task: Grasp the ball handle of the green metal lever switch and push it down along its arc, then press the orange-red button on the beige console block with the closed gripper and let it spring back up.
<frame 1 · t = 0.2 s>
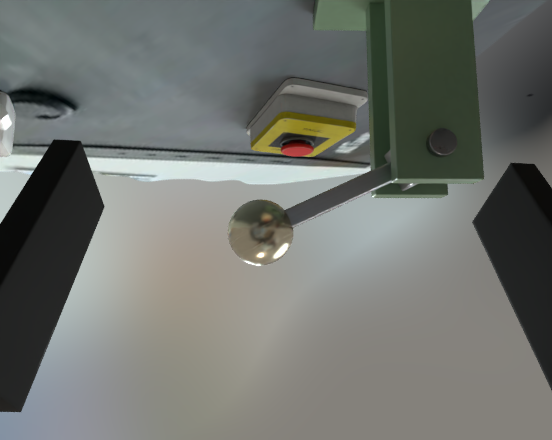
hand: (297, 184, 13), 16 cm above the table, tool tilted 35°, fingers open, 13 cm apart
lever switch: (338, 196, 22), point 14 cm above the table, hinge at 25.0°
emergency button: (300, 111, 46), on the table
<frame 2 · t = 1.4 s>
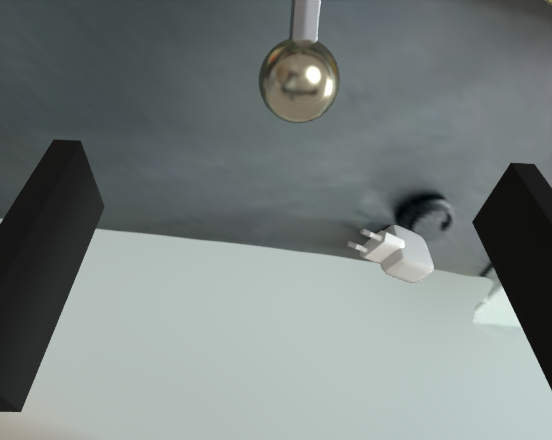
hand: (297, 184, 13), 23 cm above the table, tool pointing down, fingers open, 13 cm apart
power adapter: (382, 228, 50), on the table
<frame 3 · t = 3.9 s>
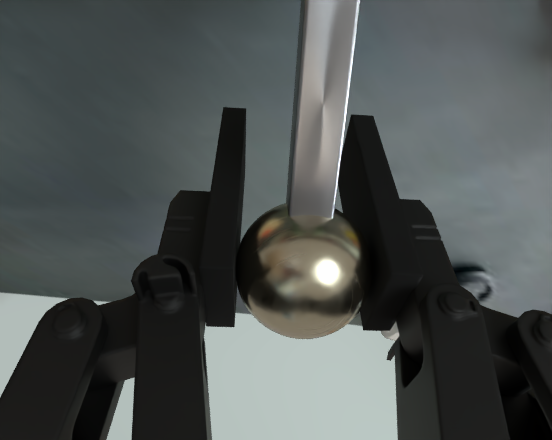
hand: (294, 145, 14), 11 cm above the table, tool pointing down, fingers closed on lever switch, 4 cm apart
lever switch: (322, 76, 9), point 14 cm above the table, hinge at 25.0°, touching gripper
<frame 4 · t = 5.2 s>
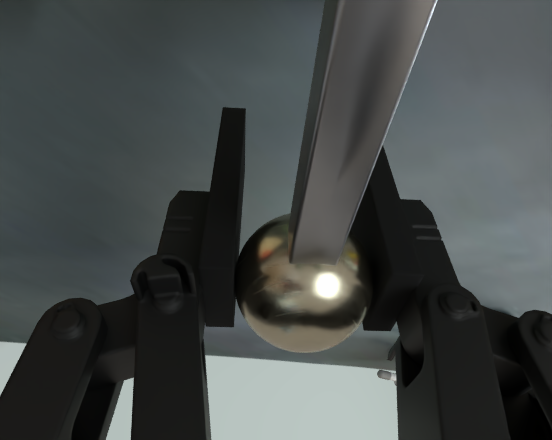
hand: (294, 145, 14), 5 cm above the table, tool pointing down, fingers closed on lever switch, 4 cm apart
lever switch: (339, 141, 6), point 11 cm above the table, hinge at -5.7°, touching gripper
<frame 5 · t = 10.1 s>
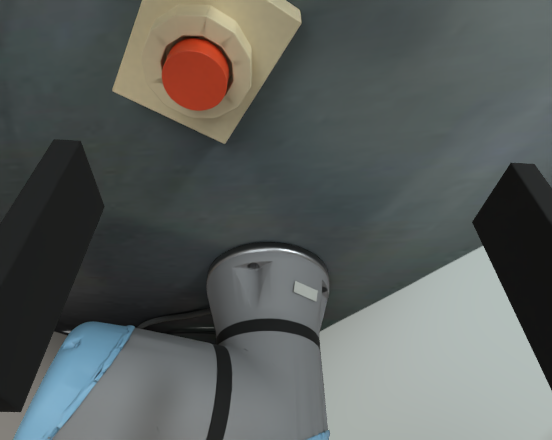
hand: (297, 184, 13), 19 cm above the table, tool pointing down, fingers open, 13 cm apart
start button: (196, 75, 25), point 4 cm above the table, slide at 0.1 cm
button console: (204, 45, 28), on the table
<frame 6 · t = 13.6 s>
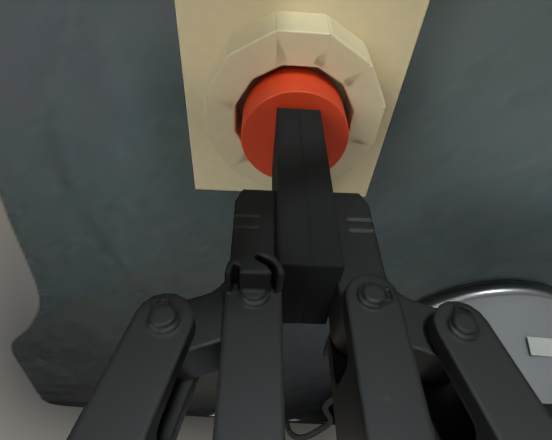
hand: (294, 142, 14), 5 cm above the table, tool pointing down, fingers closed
start button: (293, 127, 15), point 4 cm above the table, slide at 0.0 cm, touching gripper
button console: (290, 73, 18), on the table
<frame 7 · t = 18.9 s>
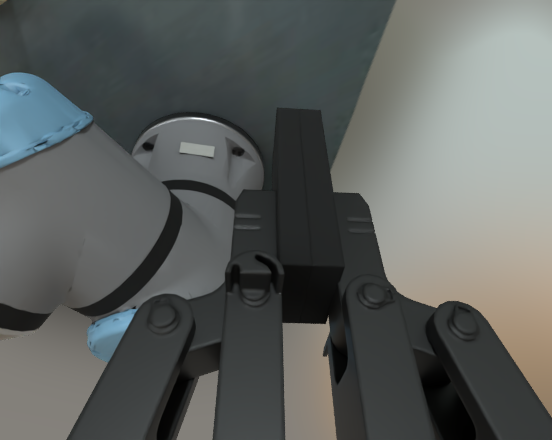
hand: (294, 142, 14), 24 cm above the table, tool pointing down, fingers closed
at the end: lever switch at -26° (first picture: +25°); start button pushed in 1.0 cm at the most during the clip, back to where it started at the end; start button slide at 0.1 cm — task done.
